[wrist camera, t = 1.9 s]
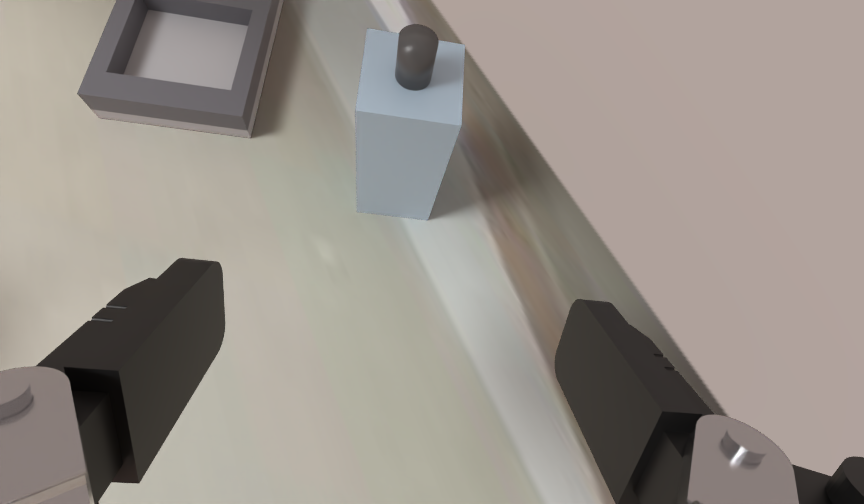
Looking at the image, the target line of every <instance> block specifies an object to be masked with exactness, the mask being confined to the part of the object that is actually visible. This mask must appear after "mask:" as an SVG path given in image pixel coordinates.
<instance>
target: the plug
mask: <svg viewBox="0 0 864 504" xmlns="http://www.w3.org/2000/svg"><path fill="white" fill-rule="evenodd" d="M464 54H465V45H464V44H458V43H452V42H446V41H440V40H438V37H437V35H436V34H435V32H434V31H433V30H431V29H430V28H428V27H426V26H423V25H419V24H413V25H409V26H406V27H404V28H403V29H402V30H401V32H400V33H393V32H387V31H381V30H376V29H370V28H367V34H366V40H365V47H364V54H363V61H362V68H361V75H360V81H359V88H358V95H357V102H356V109H355V124H356V186H357V212H362V213H371V214H379V215H388V216H396V217H404V218H413V219H421V220H428V218H429V216H430V213H431V210H432V207H433V204H434V202H435V199H436V196H437V193H438V190H439V188H440V185H441V182H442V179H443V176H444V173H445V171H446V168H447V165H448V162H449V159H450V157H451V154H452V151H453V148H454V145H455V143H456V140H457V137H458V134H459V131H460V128H461V124H462V101H463V78H464Z"/></svg>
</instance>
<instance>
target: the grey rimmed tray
mask: <svg viewBox="0 0 864 504" xmlns="http://www.w3.org/2000/svg"><path fill="white" fill-rule="evenodd" d="M283 1H284V0H116V3H115V5H114V7H113V10H112V12H111V14H110V17H109V19H108V22H107V24H106V26H105V29H104V31H103V33H102V36H101V38H100V41H99V43H98V45H97V48H96V50H95V52H94V55H93V57H92V60H91V62H90V64H89V67H88V69H87V72H86V74H85V76H84V79H83V81H82V83H81V86H80V88H79V91H78V93H77V94H78V95H79V96H80V97H81V98H82V100H83V101H84V102H85V103H86V104H87V105H88V106H89V107H90V108H91V110H92V111H93V112H94V113H95V114H96V115H97V116H98V117H99V118H105V119H113V120H120V121H127V122H135V123H142V124H150V125H157V126H165V127H172V128H179V129H187V130H194V131H202V132H209V133H217V134H224V135H231V136H239V137H246V138H251V134H252V130H253V126H254V122H255V118H256V114H257V109H258V105H259V101H260V97H261V93H262V89H263V84H264V80H265V76H266V72H267V68H268V64H269V59H270V55H271V51H272V47H273V43H274V39H275V34H276V30H277V26H278V22H279V18H280V14H281V10H282V5H283Z"/></svg>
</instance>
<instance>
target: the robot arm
mask: <svg viewBox="0 0 864 504" xmlns="http://www.w3.org/2000/svg"><path fill="white" fill-rule="evenodd" d="M224 332H225V310H224V291H223V273H222V267H221V265H220V263H219V262H216V261H206V260H196V259H187V258H179V259H178V260H176V261H175V262H174V263H173V264H172V265H171V266H170V267H169V268H168V269H167V270H166V271H165V272H164V273H162V274H161V275H160V276H159V277H158V278H157V279H154V278H148V279H146V280H144V281H142V282H139V283H137V284H135V285H133V286H131V287H128V288H126V289H124V290H123V291H122V292H121V293H119V294H118V295H117V296H116V297H115V298H114V299H112V300H111V301H110V302H109V303H108V304H107V306H106V308H102V309H101V310H100V311H99V312H97V313H96V314H95V315H94V316H93V317H92V320H91V321H87V322H86V323H85V324H84V325H83V326H81V327H80V328H79V329H78V330H77V331H76V332H74V333H73V334H72V335H71V336H70V337H69V338H68V339H66V340H65V341H64V342H63V343H62V344H61V345H60V346H58V347H57V348H56V349H55V350H54V351H53V352H51V353H50V354H49V355H48V356H47V357H46V358H45V359H43V360H42V361H41V362H40V363H39V364H38V365H36V366H33V367H21V368H14V369H9V370H4V371H0V504H99V500H100V498H101V497H102V495H103V494H104V492H105V491H106V489H107V488H108V486H109V485H110V483H111V482H120V483H140V481H141V479H142V478H143V476H144V474H145V473H146V471H147V469H148V468H149V466H150V464H151V463H152V461H153V459H154V458H155V456H156V455H157V453H158V451H159V450H160V448H161V446H162V445H163V443H164V441H165V440H166V438H167V436H168V435H169V433H170V431H171V430H172V428H173V426H174V425H175V423H176V421H177V420H178V418H179V416H180V415H181V413H182V411H183V410H184V408H185V406H186V405H187V403H188V402H189V400H190V398H191V397H192V395H193V393H194V392H195V390H196V388H197V387H198V385H199V383H200V382H201V380H202V378H203V377H204V375H205V373H206V372H207V370H208V368H209V367H210V365H211V363H212V362H213V360H214V358H215V357H216V355H217V353H218V352H219V350H220V347H221V345H222V341H223V337H224ZM555 373H556V377H557V380H558V382H559V384H560V386H561V388H562V390H563V393H564V395H565V397H566V399H567V401H568V403H569V405H570V407H571V410H572V412H573V414H574V416H575V418H576V420H577V422H578V424H579V427H580V429H581V431H582V433H583V435H584V437H585V439H586V442H587V444H588V446H589V448H590V450H591V452H592V454H593V456H594V459H595V461H596V463H597V465H598V467H599V469H600V471H601V473H602V476H603V478H604V480H605V482H606V484H607V486H608V488H609V490H610V493H611V495H612V497H613V499H614V501H615V503H616V504H864V458H863V457H849V458H846V459H845V460H844V461H843V462H842V464H841V465H840V466H839V468H838V469H837V471H836V472H835V473H834V474H833V476H832V477H831V476H828V475H825V474H822V473H818V472H815V471H812V470H808V469H805V468H802V467H798V466H795V465H792V464H791V462H790V460H789V459H788V457H787V456H786V455H785V453H784V452H783V451H782V450H781V449H780V448H779V447H778V446H777V445H776V444H775V443H774V442H773V441H771V440H770V439H769V438H768V437H766V436H765V435H764V434H762V433H761V432H759V431H758V430H756V429H754V428H752V427H751V426H749V425H747V424H745V423H743V422H740V421H738V420H736V419H733V418H730V417H726V416H722V415H714V413H713V412H712V411H711V410H710V409H709V408H708V406H707V405H706V404H705V403H704V402H703V400H702V399H701V398H700V397H699V396H698V395H697V393H696V392H695V391H694V390H693V389H692V388H691V386H690V385H689V384H688V383H687V382H686V381H685V379H684V378H683V377H682V376H681V375H680V374H679V372H678V371H675V370H674V366H673V365H672V364H671V363H670V362H669V361H668V359H667V358H663V354H662V352H661V351H660V350H659V349H658V348H657V347H656V345H655V344H654V343H653V342H652V341H651V340H650V339H649V338H648V337H647V336H645V335H644V334H642V333H641V332H640V331H638V330H637V329H635V328H634V327H633V326H631V325H629V324H628V323H627V321H626V320H625V319H624V318H623V317H622V315H621V314H620V313H619V312H618V310H617V309H616V308H615V307H614V306H613V305H612V304H611V303H610V302H602V301H592V300H583V299H577V300H576V301H575V302H574V303H573V304H572V306H571V309H570V311H569V315H568V318H567V321H566V324H565V327H564V330H563V333H562V336H561V339H560V342H559V345H558V348H557V351H556V356H555Z"/></svg>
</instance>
